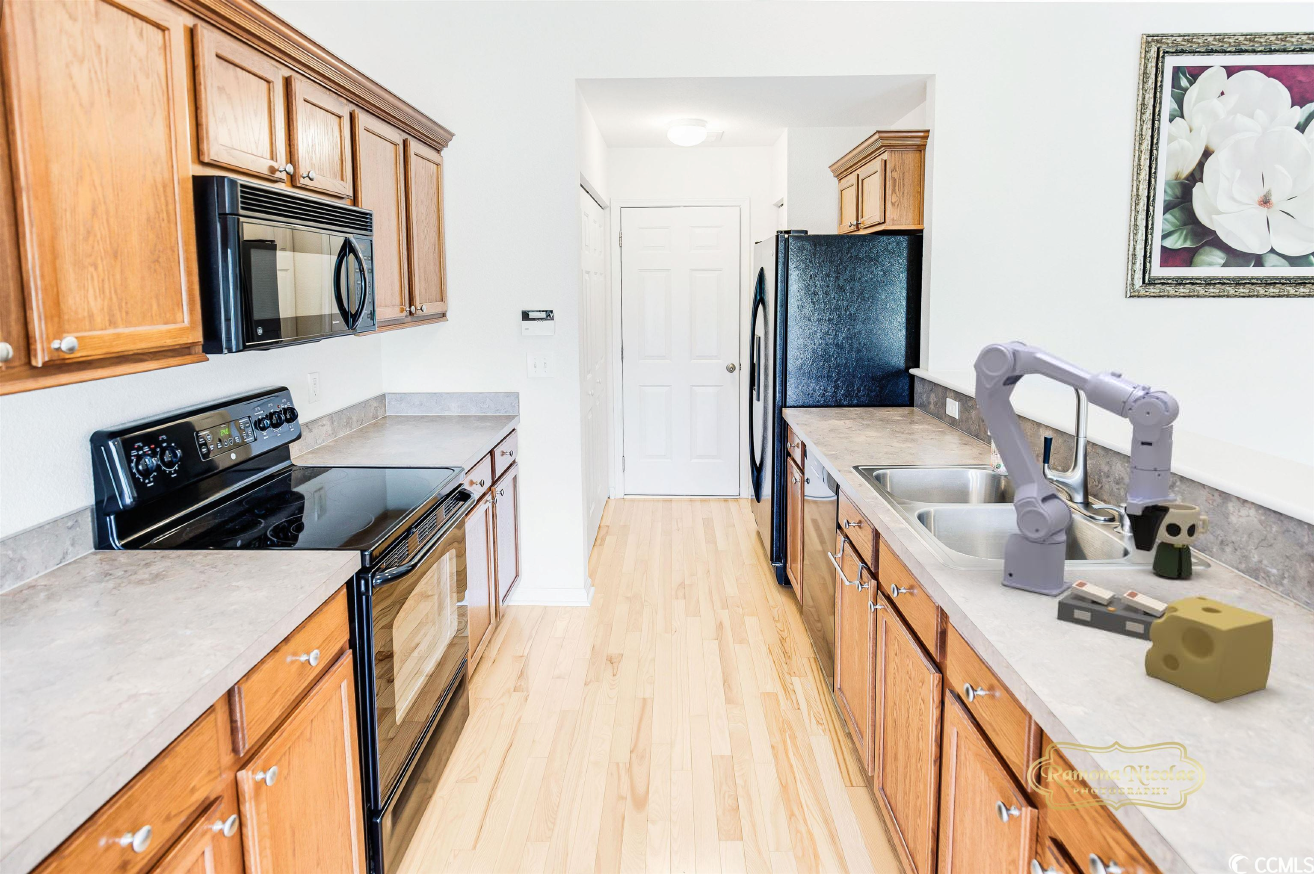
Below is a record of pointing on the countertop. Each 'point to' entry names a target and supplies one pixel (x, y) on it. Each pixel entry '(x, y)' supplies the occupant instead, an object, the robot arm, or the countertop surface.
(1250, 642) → the cheese
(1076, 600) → the double switch panel
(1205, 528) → the character mug
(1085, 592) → the rocker
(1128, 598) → the rocker
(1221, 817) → the countertop surface
